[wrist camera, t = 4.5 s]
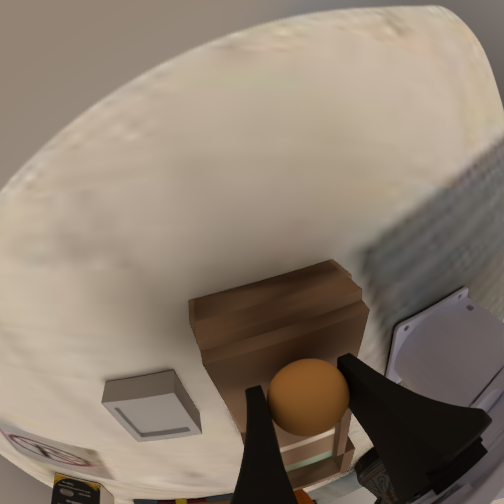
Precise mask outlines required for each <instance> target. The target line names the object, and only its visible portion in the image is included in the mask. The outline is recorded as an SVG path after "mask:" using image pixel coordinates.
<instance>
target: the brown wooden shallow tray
mask: <svg viewBox="0 0 504 504" xmlns="http://www.w3.org/2000/svg"><path fill="white" fill-rule="evenodd" d="M369 310H370V309H369V308H368V307H367V306H366V304H365V303H364V302H363V300H362V289H361V288H360V287H359V286H358V285H357V284H356V283H354V282H353V281H352V280H351V274H350V273H349V272H348V271H346V270H345V269H344V268H343V267H341V266H340V265H339V264H338V263H337V262H335V261H334V260H329V261H326V262H323V263H320V264H316V265H313V266H310V267H306V268H303V269H300V270H296V271H293V272H290V273H286V274H283V275H279V276H276V277H273V278H269V279H266V280H262V281H259V282H255V283H252V284H248V285H245V286H241V287H237V288H234V289H230V290H227V291H223V292H219V293H216V294H212V295H208V296H204V297H201V298H197V299H193V300H189V321H190V325H191V328H192V330H193V333H194V335H195V338H196V341H197V344H198V346H199V349H200V351H201V357H202V362H203V365H204V367H205V369H206V371H207V373H208V374H209V376H210V378H211V380H212V381H213V383H214V385H215V386H216V388H217V390H218V392H219V393H220V395H221V397H222V398H223V400H224V402H225V404H226V406H227V408H228V410H229V412H230V414H231V416H232V418H233V420H234V421H235V423H236V425H237V427H238V429H239V431H240V433H241V436H242V440H243V444H244V446H245V437H246V423H247V404H246V395H245V390H246V389H247V388H250V387H254V386H257V385H261V387H262V390H263V393H264V395H265V398H266V401H267V392H268V388H269V385H270V383H271V381H272V379H273V378H274V377H275V375H276V374H277V373H278V372H279V371H280V370H281V369H282V368H284V367H285V366H287V365H288V364H290V363H292V362H295V361H298V360H302V359H319V360H323V361H326V362H328V363H330V364H332V365H333V366H335V367H336V368H337V357H340V356H342V355H345V354H347V353H351V354H352V355H354V356H355V357H357V356H358V352H359V349H360V345H361V342H362V338H363V334H364V330H365V326H366V322H367V318H368V314H369ZM351 414H352V411H351V410H350V408H349V407H347V410H346V412H345V414H344V416H343V417H342V419H341V420H340V421H339V422H338V424H336V425H335V426H334V427H333V428H331V429H330V430H328V431H327V432H324V433H322V434H319V435H315V436H308V437H303V436H296V435H293V434H290V433H288V432H286V431H284V430H282V429H281V428H280V427H279V426H278V425H277V424H276V423H275V422H274V421H273V419H272V421H273V424H274V428H275V432H276V436H277V440H278V444H279V448H280V452H281V456H282V460H283V463H284V467H285V470H286V473H287V475H288V478H289V481H290V483H291V486H292V488H293V491H296V490H299V489H302V488H305V487H308V486H311V485H314V484H317V483H319V482H322V481H325V480H327V479H330V478H332V477H335V476H337V475H340V474H342V473H344V472H346V471H348V470H349V467H350V464H351V461H352V457H353V454H354V451H355V447H354V445H353V443H352V442H351V440H350V438H349V436H348V432H349V426H350V420H351Z"/></svg>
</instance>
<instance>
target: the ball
mask: <svg viewBox="0 0 504 504" xmlns="http://www.w3.org/2000/svg"><path fill="white" fill-rule="evenodd" d="M348 404H349V387H348V384H347V381H346V379H345V377H344V376H343V374H342V373H341V372H340V371H339V370H338V369H337V368H336V367H335V366H333V365H332V364H330V363H328V362H326V361H323V360H319V359H302V360H298V361H295V362H292V363H290V364H288V365H287V366H285V367H284V368H282V369H281V370H280V371H279V372H278V373H277V374H276V375H275V377H274V378H273V379H272V381H271V383H270V385H269V388H268V392H267V405H268V408H269V411H270V415H271V418H272V419H273V421H274V422H275V423H276V424H277V425H278V426H279V427H280V428H281V429H282V430H284V431H286V432H288V433H290V434H293V435H296V436H303V437H308V436H315V435H319V434H322V433H324V432H327V431H328V430H330V429H331V428H333V427H334V426H335V425H336V424H338V422H339V421H340V420H341V419H342V417H343V416H344V414H345V412H346V410H347V407H348Z"/></svg>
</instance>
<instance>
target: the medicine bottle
mask: <svg viewBox="0 0 504 504" xmlns="http://www.w3.org/2000/svg"><path fill="white" fill-rule="evenodd" d="M51 504H114V497H113V496H112V495H111V494H110V493H109V492H108V491H107V490H106V489H105V488H104V487H103V486H102V485H101V484H99V483H95V482H90V481H86V480H81V479H77V478H73V477H69V476H66V475H62V474H59V473H56V474H55V478H54V485H53V493H52V502H51Z"/></svg>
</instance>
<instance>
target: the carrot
mask: <svg viewBox="0 0 504 504" xmlns="http://www.w3.org/2000/svg"><path fill="white" fill-rule="evenodd" d="M294 493H295V496H296V499H297V501H298V504H315V503H314V502H313V501H312V499H311V498H310V497H309V495H308V494H307V493H306V492H305V491H304V490H303V489H299V490H296V491H294Z"/></svg>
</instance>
